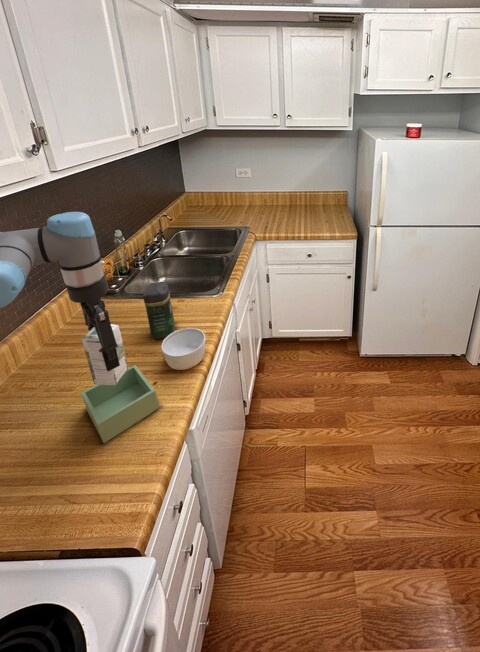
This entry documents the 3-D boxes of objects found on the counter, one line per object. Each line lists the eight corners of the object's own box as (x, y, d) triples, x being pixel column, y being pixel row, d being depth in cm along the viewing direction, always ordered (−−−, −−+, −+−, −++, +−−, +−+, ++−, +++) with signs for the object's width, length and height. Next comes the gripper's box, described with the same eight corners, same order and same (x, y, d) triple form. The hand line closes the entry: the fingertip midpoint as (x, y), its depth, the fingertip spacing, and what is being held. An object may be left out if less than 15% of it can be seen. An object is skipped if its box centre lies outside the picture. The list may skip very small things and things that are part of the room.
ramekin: (207, 368, 103) (204, 351, 101) (161, 377, 100) (157, 359, 97) (208, 341, 115) (205, 324, 113) (167, 348, 112) (163, 331, 109)
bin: (103, 443, 81) (97, 424, 78) (86, 410, 89) (80, 392, 87) (159, 408, 90) (155, 390, 88) (139, 381, 99) (135, 364, 96)
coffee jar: (174, 337, 117) (166, 292, 110) (150, 342, 114) (139, 296, 108) (176, 321, 125) (169, 278, 118) (153, 325, 123) (144, 281, 116)
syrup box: (108, 368, 88) (95, 322, 83) (129, 368, 88) (118, 323, 83) (93, 385, 83) (79, 337, 77) (116, 386, 83) (104, 338, 77)
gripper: (120, 290, 71) (139, 372, 79) (90, 260, 84) (109, 333, 92) (79, 304, 66) (104, 390, 74) (54, 270, 79) (78, 347, 87)
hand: (107, 359), depth 83 cm, fingers closed on syrup box, 8 cm apart
